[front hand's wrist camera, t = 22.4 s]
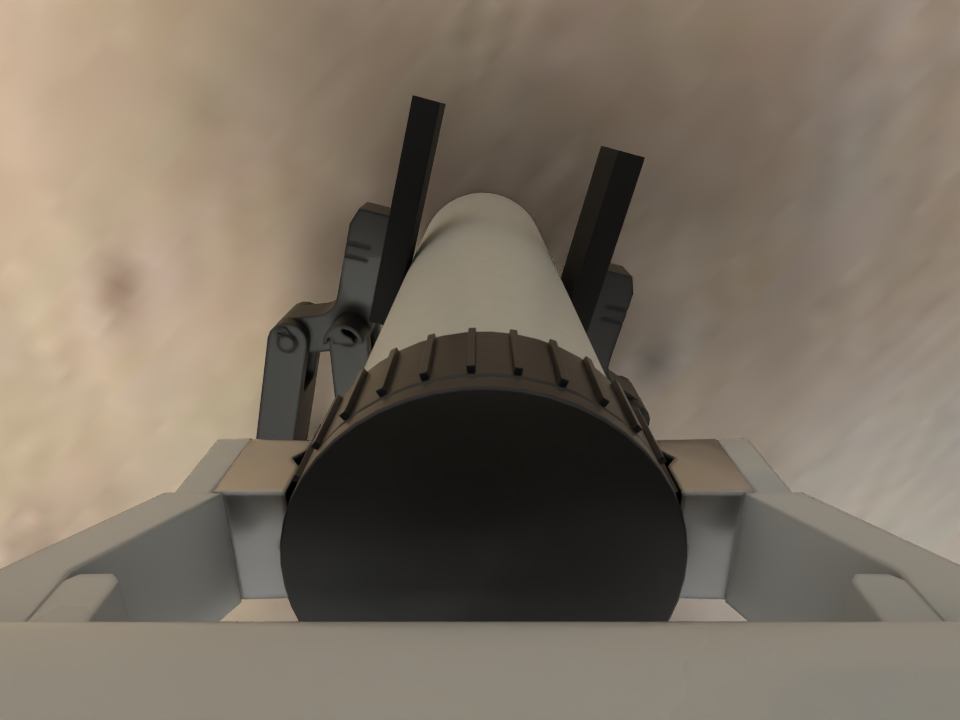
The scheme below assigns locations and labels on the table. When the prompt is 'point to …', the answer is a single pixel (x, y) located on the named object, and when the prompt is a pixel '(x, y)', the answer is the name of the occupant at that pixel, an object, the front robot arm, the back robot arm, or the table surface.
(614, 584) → the lid
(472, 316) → the beige long cylinder
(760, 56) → the table surface
